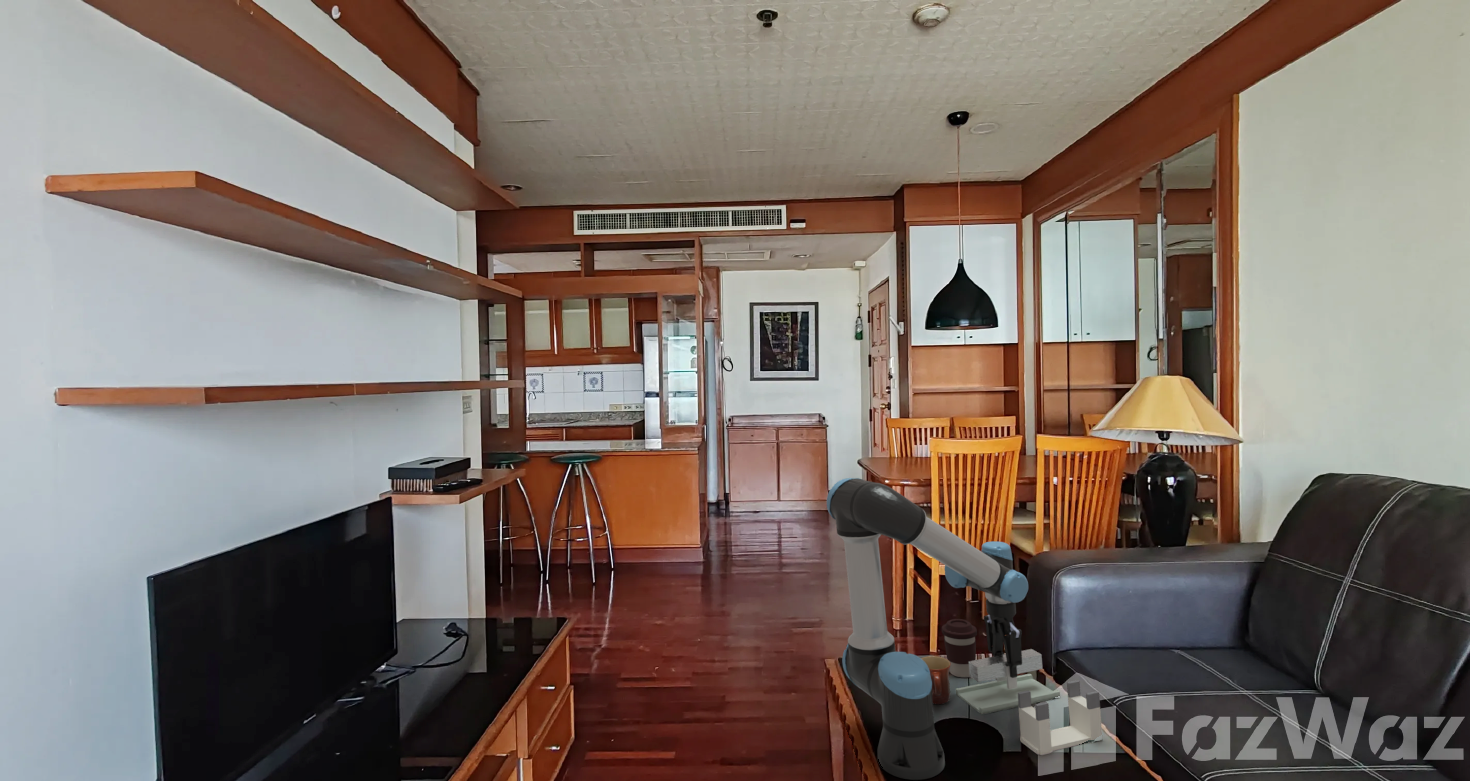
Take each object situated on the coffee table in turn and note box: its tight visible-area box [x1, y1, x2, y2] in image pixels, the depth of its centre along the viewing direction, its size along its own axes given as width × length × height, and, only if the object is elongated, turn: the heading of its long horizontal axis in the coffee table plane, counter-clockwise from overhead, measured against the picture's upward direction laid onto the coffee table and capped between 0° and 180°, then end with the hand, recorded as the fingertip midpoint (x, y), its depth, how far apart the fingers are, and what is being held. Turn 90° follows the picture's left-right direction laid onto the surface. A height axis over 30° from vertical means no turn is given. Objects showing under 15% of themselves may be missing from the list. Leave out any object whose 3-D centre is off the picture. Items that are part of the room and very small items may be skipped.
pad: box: [955, 673, 1061, 715], centre depth 180 cm, size 24×12×2 cm, turn 104°
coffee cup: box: [941, 618, 978, 678], centre depth 196 cm, size 10×10×15 cm
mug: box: [920, 655, 951, 706], centre depth 179 cm, size 12×9×10 cm
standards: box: [1018, 679, 1103, 756], centre depth 157 cm, size 18×7×12 cm, turn 104°
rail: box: [969, 648, 1043, 683], centre depth 180 cm, size 20×4×4 cm, turn 104°
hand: (1006, 683), depth 180 cm, fingers closed on rail, 4 cm apart
